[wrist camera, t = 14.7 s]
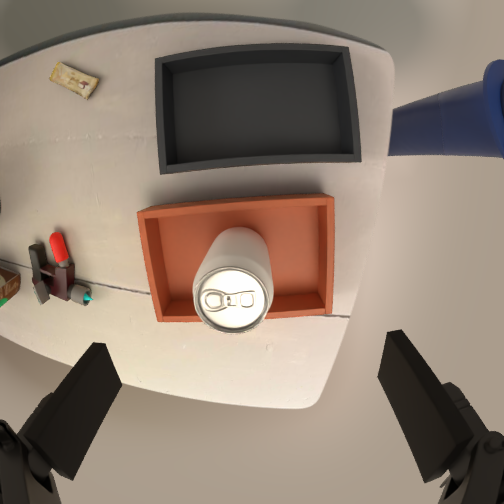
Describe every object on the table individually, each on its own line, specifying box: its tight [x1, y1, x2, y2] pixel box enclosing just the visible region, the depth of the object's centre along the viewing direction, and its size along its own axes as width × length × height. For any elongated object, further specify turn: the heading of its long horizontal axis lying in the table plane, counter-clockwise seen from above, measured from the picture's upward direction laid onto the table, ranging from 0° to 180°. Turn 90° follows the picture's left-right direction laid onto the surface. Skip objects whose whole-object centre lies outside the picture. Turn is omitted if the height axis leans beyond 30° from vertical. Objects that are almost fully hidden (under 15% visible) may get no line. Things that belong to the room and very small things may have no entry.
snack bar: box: [50, 62, 99, 100], centre depth 25 cm, size 10×2×3 cm
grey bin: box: [155, 43, 361, 175], centre depth 25 cm, size 20×13×4 cm, turn 94°
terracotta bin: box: [137, 193, 335, 322], centre depth 30 cm, size 20×13×4 cm, turn 94°
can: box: [193, 227, 274, 334], centre depth 26 cm, size 6×6×12 cm
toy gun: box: [29, 232, 93, 306], centre depth 31 cm, size 10×12×5 cm
